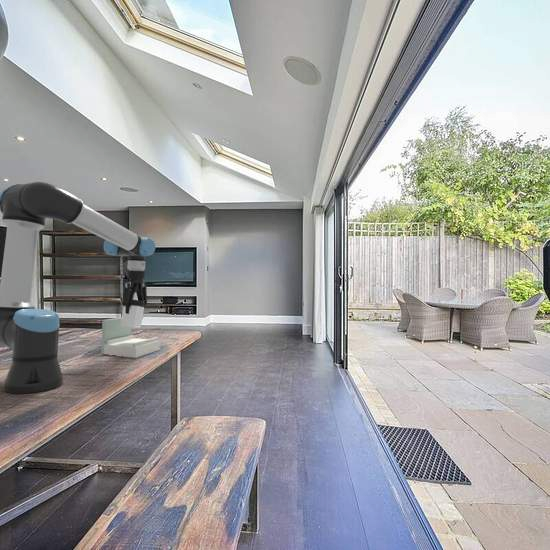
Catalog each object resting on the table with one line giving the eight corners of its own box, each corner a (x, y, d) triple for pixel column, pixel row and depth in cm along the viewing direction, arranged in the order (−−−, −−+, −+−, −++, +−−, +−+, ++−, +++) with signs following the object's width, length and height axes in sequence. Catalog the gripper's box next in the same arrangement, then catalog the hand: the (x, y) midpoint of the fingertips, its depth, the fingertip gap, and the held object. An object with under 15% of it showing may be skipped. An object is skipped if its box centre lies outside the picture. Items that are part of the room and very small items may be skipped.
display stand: (135, 357, 148) (137, 322, 148) (101, 354, 152) (102, 320, 153) (159, 349, 166) (160, 318, 166) (127, 346, 170) (129, 316, 170)
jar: (142, 328, 156) (147, 301, 158) (124, 325, 151) (129, 298, 153) (136, 327, 163) (140, 302, 165) (118, 325, 158) (123, 299, 160)
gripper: (128, 269, 148) (126, 323, 148) (156, 271, 168) (154, 318, 168) (113, 269, 150) (111, 322, 150) (142, 270, 170) (141, 317, 170)
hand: (134, 319), depth 159 cm, fingers closed on jar, 8 cm apart
